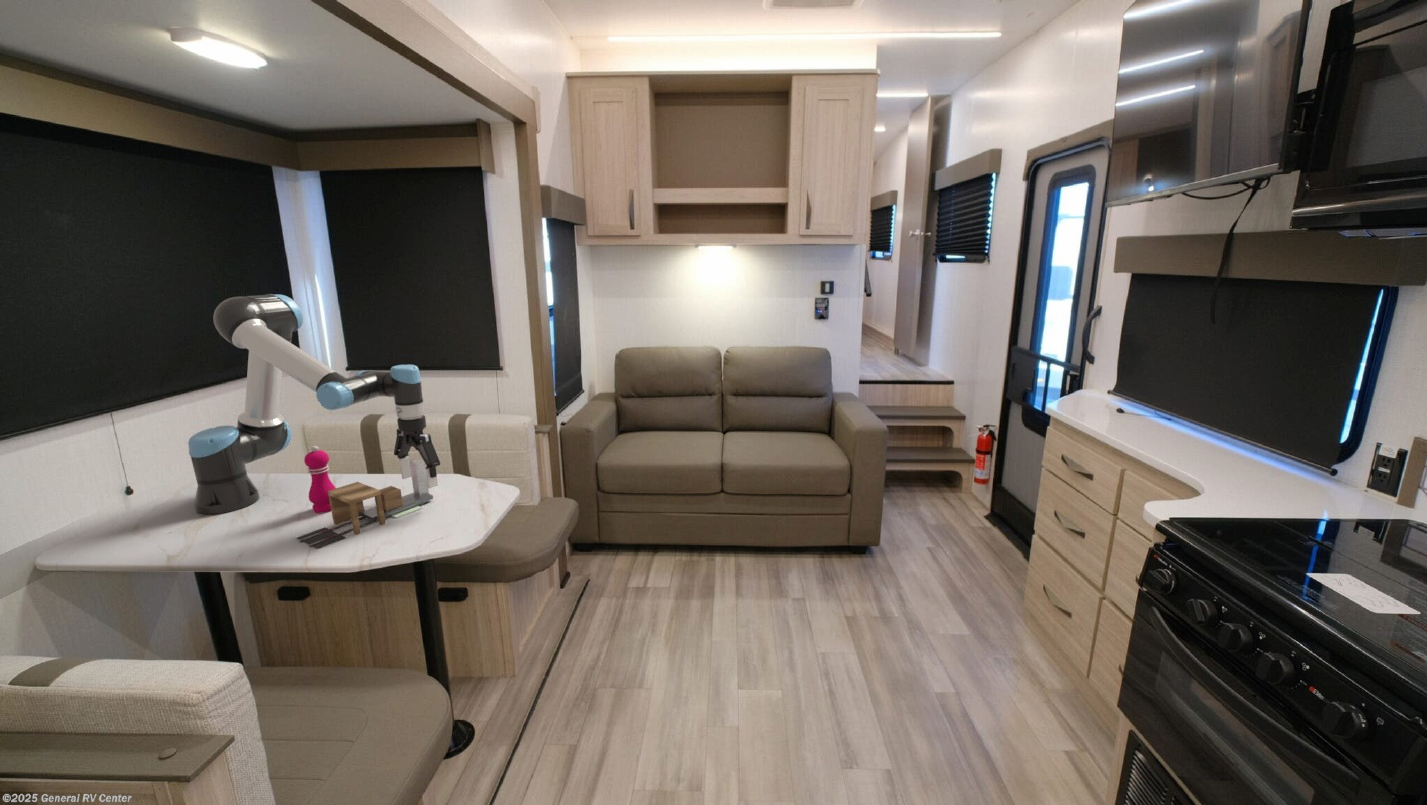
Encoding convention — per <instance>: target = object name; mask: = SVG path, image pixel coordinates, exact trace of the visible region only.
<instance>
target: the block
mask: <svg viewBox="0 0 1427 805" xmlns="http://www.w3.org/2000/svg"><path fill="white" fill-rule="evenodd" d="M379 490H380V491H381V498H382V504H383V510H385V511H388V510H390V509H393V508H396V507H399V506H401V505H403V502H402V497H403V496H402V490H401V488H397V487H395V486H393V485H389V486H387V487H383V488H381V489H379Z"/></svg>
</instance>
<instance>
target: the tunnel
mask: <svg viewBox="0 0 1427 805" xmlns="http://www.w3.org/2000/svg"><path fill="white" fill-rule="evenodd" d="M328 495H329V500H330V506H331V511H330V512H331V516H332V522H333V526H339V525H341V524H344V523H347V522H350V521H352V524H351V525H352V528H353V531H352V532H353V534H354V535H356V536H357V535H359V534H361V533H362V531H361V528H360V525H361V524H360V521H359V519H358V518H360V517H361V516H360V514H359V512H361V511H364V510H365V507H364V501H366V500H369V499H371V498H374V503H375V506H376V509H377V515H378V525H380V526H383V525H385V524H386V519H385V517H384V511H383V504H382V498H381V491H380V489H378V488H375V487H372V486H370V485H368V484H367V485H366V484H365V483H362V482H359V481H355V482H353V483H349V484H345V485H343V486H340V487H337V488H336V489H333V490H330V491H328Z"/></svg>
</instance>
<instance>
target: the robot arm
mask: <svg viewBox="0 0 1427 805" xmlns="http://www.w3.org/2000/svg"><path fill="white" fill-rule="evenodd" d="M303 323H304V316H303V313H302V310H301V308H300V307H299V306H298V304H297V303H296V301H294V300H293V298H291V297H289V296H287V295H284V294H272V293H267V294H261V295H259V294H258V295H247V296H233V297H230V298H227V299H225V300H223V301H222V302H220V303H219V304H218V305H217V306H216V308H215V309H214V313H213V324H214V327H215V329H216V330H217V332H218V333H219V335H220V336H221V337H222V338H223V339H225V340H226V341H227V342H228V343H230V344H231V345H232V346H235V347H236V348H238V349H247V351H248V360H247V375H246V388H245V389H246V390H245V402H244V412H242V413H240V414H239V415H238V416H237V425H236V426H234V425H219V426H215V427H211V428H206V429H203V430H200V431H198V432H197V433H195V434H192V436H190V438H189V440H188V442H187V445H188V455H189V456H190V459H191V462H192V467H193V472H194V476H195V479H196V482H197V483H196V484H197V489H196V493H195V498H194V503H193V506H194V509H195V512H196V513H198V514H201V515H216V514H217V515H218V514H225V513H228V512H233V511H237V510H240V509H243V508H246V507H249V506H250V505H252V504H254V503H256V502H257V501H259V500H260V494H259V493H260V492H259V490H258V489H257V487H256V485H255V484H254V483H253V482H252V479H251V478H249V476H248V473H247V472H248V471H247V466H246V464H249V463H252V462H255V461H258V460H261V459H263V458H266V457H270V456H274V455H276V454H278V453H279V452H281V451H283V450H284V449H287V447H288V446H290V444H291V442H292V436H293V435H292V434H293V432H292V427H291V428H290V424H289V423H288V421H286V420H285V417H284V416H283V415H282V414H280V406H281V405H280V404H281V394H282V383H283V382H282V381H283V380H282V379H283V373H285V374H286V375H288V376H289V377H291V378H292V379H294V380H296V381H298V382H299V383H300V384H302V385H303V386H305V387H307V388H308V389H310V390H311V391H312V392H315V393H316V394H315V395H316V396H315V397H316V399H317V402H319V403H320V405H321V406H322V407H323V408H324V409H326V410H329V411H335V410H340V409H345V408H348V407H350V406H353V405H355V404H359V403H361V402H365V401H368V400H372V399H375V398H378V397H388V398H393V399H394V405H395V409H394V410H395V412H396V417H397V419H396V420H397V426H398V427H397V428H398V429H396V438H395V439H396V440H395V444H394V451H393V455H394V456H397V459H398V460H399V465H400V466H399V467H400V474H401V479H402V480H406V479H409V478H412V476H411V469H410V462H411V461H410V457H409V456H410V454H409V452H410V450H411V449H412V447H413V448H414V449H415V450H416V451H417V452H418V453H419V455H420V457H421V458H422V460H424V462H425V467H426V468H425V469H426V476H427V484H428V489H432V488H435V487H437V486H438V477H437V475H438V474H437V467H439V466H440V465H441V460H440V459H439V457H438V453H437V452H436V449H435V447H434V444H433V441H432V436H431V434H430V433H427V434H425V433H424V429H425V428H426V427H427V420H426V416H425V414H426V411H425V410H426V409H425V403H424V398H423V389H422V377H421V374H420V369H419V367H418V366H417V365H414V364H398V365H394V366H392V367H391V368H390V371H383V370H372V369H369V370H360V371H358V372H357V373H356V374H355V375H354V376H350V377H345V376H344V375H342V374H340V373H338V372H337V371H335V370H334V369H332V368H331V367H329V366H327V365H326V364H324V363H323V362H321V361H319V360H318V359H316V358H315V357H314V356H312V355H311V354H309V353H307V352H306V351H304V350H302V349H301V348H299V347H298V346H296V345H295V344H293V343H291V342H292V337H293V332H296V331H298V330H299V329H301V328H302V326H303Z"/></svg>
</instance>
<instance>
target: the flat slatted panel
mask: <svg viewBox="0 0 1427 805" xmlns="http://www.w3.org/2000/svg"><path fill="white" fill-rule="evenodd" d="M328 529H329V528H327V527H325V526H324V527H322V528H319V529H316V530H313V531H310V532H308V533H305V534H302V535H300V536H297V537H296V539H297V540H301V539H303V538H306V537H309V536H312V535H314V534H317V533H320V532H322V531H325V530H328ZM336 534H339V533H338V532H336V531H335V530H333V531H332V530H330V531H328V532H325V533H322V534H320V535H317V536H314V537H312V538H309V539H306V540H303V542H302V543H305V544H307V545H309V544H312V543H315V542H317V541H320V540H323V539H325V538H328V537H331V536H333V535H336ZM346 538H347V537H346V536H345V535H339V536H336V537H333V538H331V539H328V540H325V541H323V542H320V543H318V544H315V545H312V546H313V548H315V549H317V550H319V549H321V548H324V547H326V546H327V547H328V546H329V545H331V544H333V543H337V542H339V541H342V540H345V539H346Z"/></svg>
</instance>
